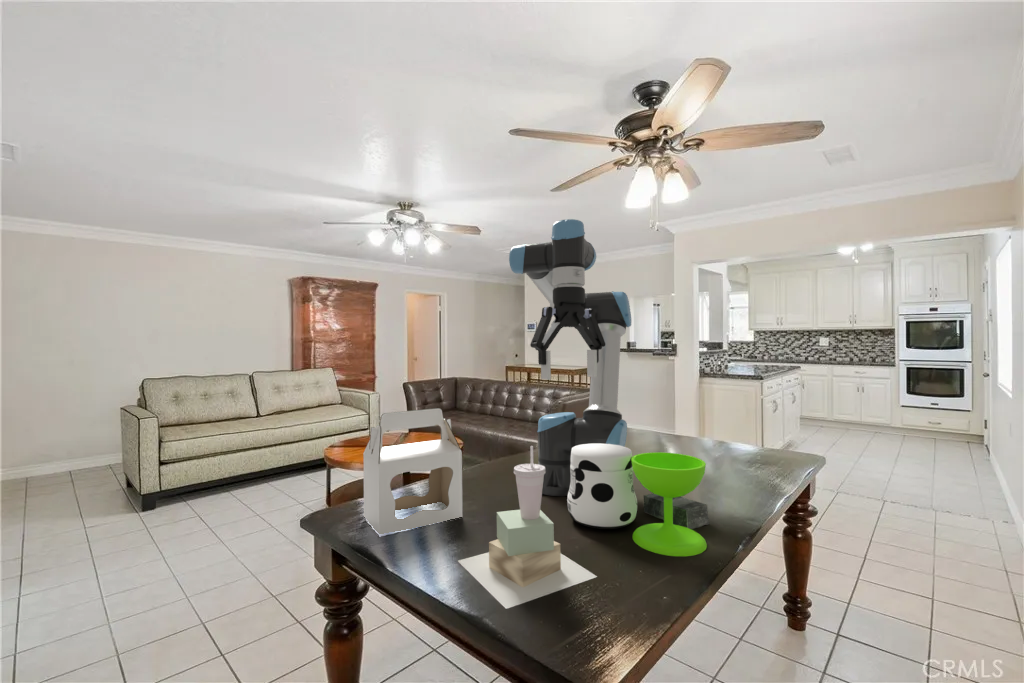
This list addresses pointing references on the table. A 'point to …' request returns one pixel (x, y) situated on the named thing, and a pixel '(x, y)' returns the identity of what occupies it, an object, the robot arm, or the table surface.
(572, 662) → the table surface
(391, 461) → the gable box
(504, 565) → the beech tray
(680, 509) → the stone block
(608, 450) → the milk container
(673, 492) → the wineglass
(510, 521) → the sage block
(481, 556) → the felt mat
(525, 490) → the smoothie
